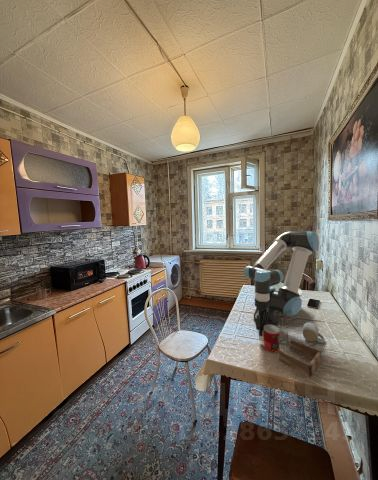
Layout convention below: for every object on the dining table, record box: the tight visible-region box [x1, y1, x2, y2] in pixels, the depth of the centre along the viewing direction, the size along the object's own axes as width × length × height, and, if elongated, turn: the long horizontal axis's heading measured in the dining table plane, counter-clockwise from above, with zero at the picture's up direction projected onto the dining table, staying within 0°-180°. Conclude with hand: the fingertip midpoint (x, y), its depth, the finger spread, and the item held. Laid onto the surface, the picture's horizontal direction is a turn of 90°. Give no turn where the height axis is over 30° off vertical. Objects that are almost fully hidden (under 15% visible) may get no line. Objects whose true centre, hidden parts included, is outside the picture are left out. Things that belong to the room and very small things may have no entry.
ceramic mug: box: [302, 321, 326, 344], centre depth 113 cm, size 11×8×8 cm
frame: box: [278, 338, 322, 378], centre depth 97 cm, size 14×14×5 cm
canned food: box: [263, 324, 281, 353], centre depth 107 cm, size 8×8×11 cm
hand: (261, 340), depth 111 cm, fingers closed
